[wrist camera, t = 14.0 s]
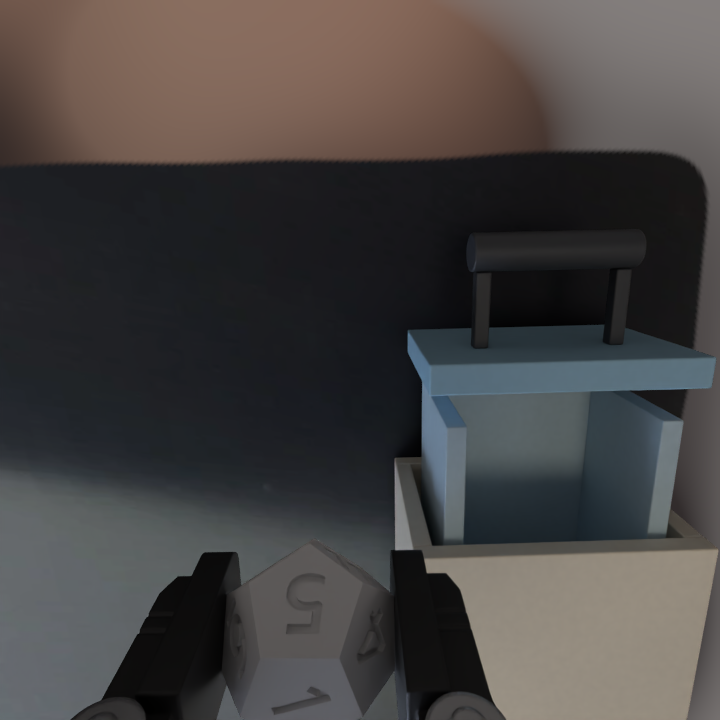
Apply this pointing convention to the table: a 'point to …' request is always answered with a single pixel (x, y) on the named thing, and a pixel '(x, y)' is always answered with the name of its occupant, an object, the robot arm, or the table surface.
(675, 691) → the beige drawer box
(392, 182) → the table surface
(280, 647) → the game die
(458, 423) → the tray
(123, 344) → the table surface
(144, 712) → the robot arm
